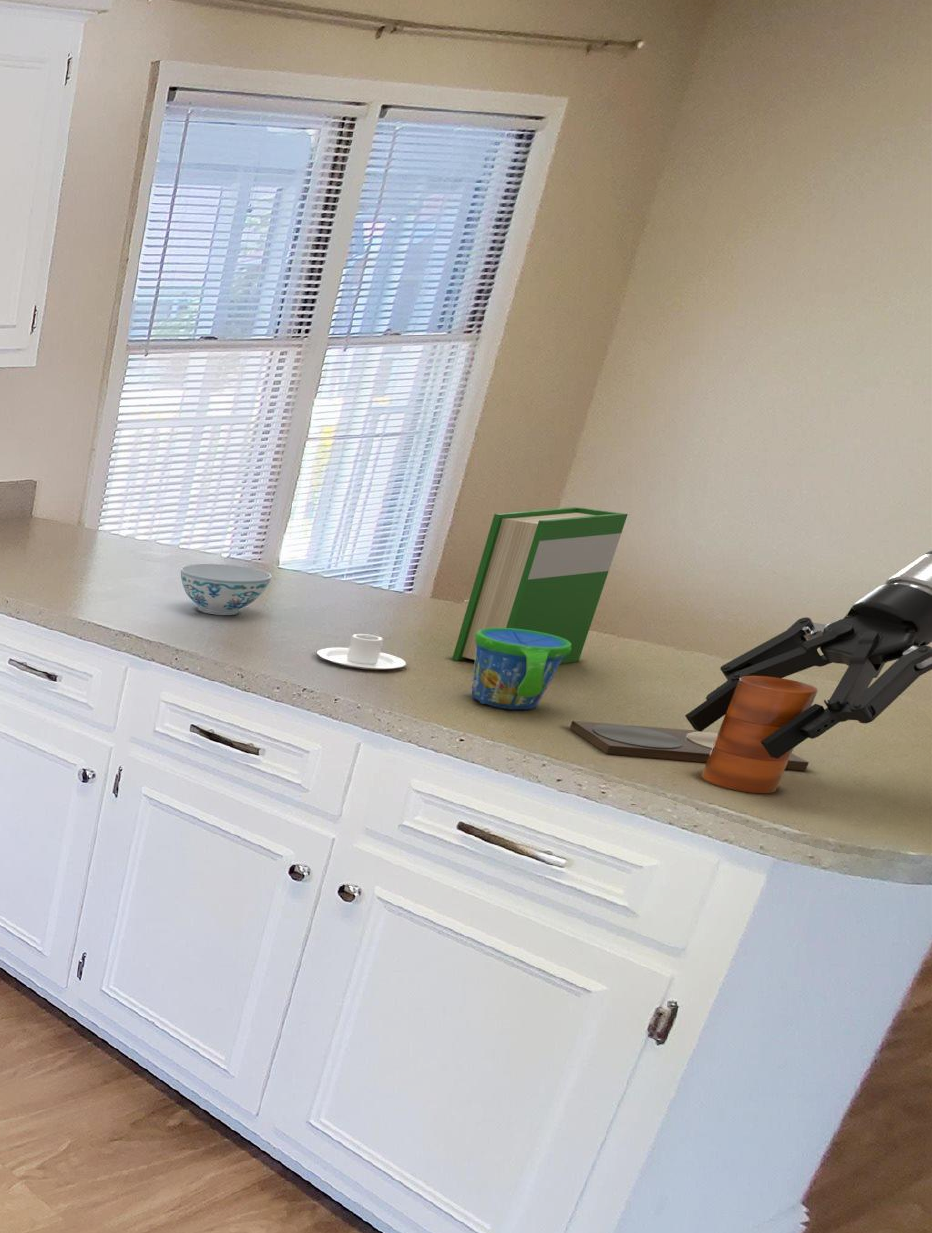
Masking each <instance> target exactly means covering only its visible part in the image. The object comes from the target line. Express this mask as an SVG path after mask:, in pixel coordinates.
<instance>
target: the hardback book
mask: <svg viewBox="0 0 932 1233" xmlns="http://www.w3.org/2000/svg"><path fill="white" fill-rule="evenodd" d="M628 516H629V514H628V513H623V512H616V511H607V510H601V509H593V508H586V507H578V506H571V507H560V508H557V507H556V508H546V509H535V510H534V509H533V510H525V511H512V512H500V513H494V514H493V518H492V521H491V525H490V528H489V531H488V535H487V537H486V538H487V539H486V541H485V544H484V547H483V551H482V555H481V557H480V558H481V559H480V562H479V565H478V569H477V573H476V576H475V580H474V583H473V586H472V589H471V593H470V596H469V600H468V603H467V607H466V610H465V614H464V616H463V620H462V624H461V627H460V631H459V634H458V637H457V641H456V643H455V644H456V645H455V648H454V651H453V654H452V658H451V659H452V660H453V661H458V662H459V661H466V660H467V661H468V660H474V661H475V655H476V647H477V645H476V642H475V634H476V632H478V631H479V630H481V629H486V628H514V629H523V630H531V631H537V632H542V633H547V634H551V635H555V636H558V637H561V638H564V639H566V640H568V641H569V642H571V652H570V653H569V654H568V655H566V656H565V657H564V658H563V659H562V661H561V662H560V664H567V663H573V662H574V663H575V662H579V661H580V658H581V655H582V652H583V649H584V646H585V644H586V640H587V637H588V634H589V631H590V629H591V625H592V623H593V620H594V616H595V614H596V611H597V608H598V604H599V602H600V599H601V595H602V592H603V589H604V587H605V583H606V581H607V578H608V575H609V572H610V569H611V566H612V563H613V560H614V557H615V553H616V550H617V547H618V545H619V542H620V539H621V535H622V533H623V529H624V527H625V524H626V521H627V518H628Z"/></svg>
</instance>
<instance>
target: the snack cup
mask: <svg viewBox="0 0 932 1233" xmlns="http://www.w3.org/2000/svg"><path fill="white" fill-rule="evenodd" d="M475 642H476V645H477V647H476V655H475V660H474V664H473V672H472V677H473V678H472V683H471V697H472V698H473V699H474V700H477V701H478V702H479V703H480V704H482V705H489V706H491V707H494V708H497V709H503V710H517V711H519V710H520V711H523V710H530V709H535V708H536V707H537V706H538V704H539V703H540V701H541V699H542V697H543V695H544V694H545V691H546V690H547V688H548V686H549V684H550V683H551V682H552V680H553V678H554V676H555V674H556V672H557V671H558V668H559V666H560V664H561V663H560V662H561V661H562V659H563V658H564V657H565V656H566V655H568V654H569V653H570V652H571V642H569V641H568V640H566V639H564V638H561V637H558V636H555V635H551V634H547V633H542V632H537V631H531V630H523V629H514V628H486V629H481V630H479V631H478V632H476V634H475Z"/></svg>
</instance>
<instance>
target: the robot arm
mask: <svg viewBox="0 0 932 1233" xmlns="http://www.w3.org/2000/svg"><path fill="white" fill-rule="evenodd" d="M931 643H932V549H931V550H929V551H927V552H926V553H924V554H923V555H921V556H920V557H919V558H917V559H916V560H915V561H914V560H913V562H911V563H909V565H907V566H905V567H904V568H902V569H901V570H900V571H899V572H897V573H895V574H894V575H892V576H891V577H889V578H888V579H886V581H885V583H884V584H881V585H879V586H877V587H876V588H874V589H873V590H872V591H870V592H869V593H867V594H866V595H865V596H863V597H861V598H860V599H859V600H858V601H856V602H855V603H854V604H852V606H851V607H850V609H849V611H848V612H847V614H845V616H844V617H842V618H840V619H837V620H835V621H831V622H830V623H828V624H825V623H816V622H813V621H812V618H810V617H807V616H806V617H805V616H804V617H800V618H799V619H798V620H796V621H795V622H794V623H793V624H792V625H791V626H789V627H788V628H787V629H786V630H785V631H782V632H781V633H778V634H777V635H776V636H774V637H771V638H769V639H768V640H766V641H765V642H763V643H761V644H759V645H757V646H755V647H754V648H751V649H750V650H748V651H746V652H745V653H743V654H740V655H739V656H737V657H735V658H734V659H731V660H730V661H728V662H726V663H724V664H723V665H721V666H720V667H719V670H720V671H721V673H722V674H723V676H724V677H725V679H726V681H725V682H724V683H722V684H721V685H719V686H718V687H716V688H715V689H714V690H712V691H711V692H709V693H708V694H707V695H706V697H705V699H706V700H705V701H703V702H702V703H701V704H699V705H698V706H696V707H695V708H694V709H692V710H691V711H690V712H688V713H687V714H685V715H684V717H685V718H686V719H687V721H688V722H689V724H690V725H691V727H692V728H693V730H697V731H700V732H701V731H705V730H706V729H707V728H709V727H710V726H711V725H712V724H714V723H716V722H717V721H718V720H720V719H721V718H723V716H724V717H725V714H726V712H727V709H728V707H729V704H730V702H731V699H732V696H733V694H734V691H735V689H736V686H737V684H738V681H739V679H740V678H741V677H743V676H767V677H776V678H782V679H785V678H786V677H788V676H791V675H794V674H797V673H800V672H802V671H805V670H808V669H811V668H813V667H818V668H821V667H824V666H828V665H830V664H832V663H834V664H842V665H846V666H848V667H847V668H846V669H845V671H844V674H843V675H842V677H841V678H840V681H839V683H838V684H837V686H836V688H835V689H834V691H833V693H832V694H831V696H830V698H829V699H827V700H826V699H823V702H824V704H825V707H826V708H824V706H823V705H822V704H821V705H820V704H818V703H814V704H812V706H811V707H810V708H808V709H807V710H805V711H804V712H803V713H801V714H800V715H798V716H797V717H795V718H794V719H793V720H791V721H790V722H788V723H787V724H785V725H784V726H782V727H781V728H780V729H778V730H777V731H775V732H774V733H772V734H771V735H769V736H768V737H767V738H765V739H764V740H762V741H761V743H762V745H763V746H764V748H765V749H766V751H767V752H768V754H769V755H770V756H771V757H773V758H776V759H778V758H779V757H781V756H782V755H784V754H785V753H787V752H788V751H789V750H791V749H792V748H795V747H797V746H798V745H800V744H801V743H803V742H804V741H806V740H807V739H812V740H813V739H815V738H818V737H820V736H822V735H823V734H824V733H826V732H827V731H829V730H830V729H832V728H834V727H835V726H836V725H837V724H839V723H844V722H847V721H857V722H858V723H860V724H869V723H872V722H873V721H874V720H876V719H877V718H878V717H879V716H880V715H881V714H882V712H884V711H885V710H886V709H887V708H889V706H890V705H892V703H893V702H895V701H896V699H898V697H900V696H901V695H902V694H903V693H904V692H905V691H906V690H907V689H908V688H909V687H910V686H911V685H912V684H913V683H915V682H916V681H917V680H918V679H919V677H921V676H922V675H924V674H926V673H928V672H930V671H932V647H931V645H930V644H931ZM929 645H930V646H929ZM818 649H820V650H819V651H821V654H820V653H819V651H818ZM892 661H893V663H892V664H891V665H890V666H889V667H888V668H887V669H885V671H884V672H883V673H882V674H881V675H880V673H881V672H882V670H883V667H885V664H887V663H889V662H892ZM894 661H895V662H894ZM874 679H875V681H873V680H874ZM872 682H873V683H872Z"/></svg>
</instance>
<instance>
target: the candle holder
mask: <svg viewBox="0 0 932 1233" xmlns="http://www.w3.org/2000/svg"><path fill="white" fill-rule="evenodd" d="M383 643H384V638H383V637H381V636H378V635H374V634H368V633H356V634H353V635H351V638H350V642H349V647H326V648H321V649H319V650H317V652H316V654H317V655H318V657H320V658H322V659H324V660H326V661H329V662H331V663H333V664H337V665H340V666H344V667H349V668H355V669H362V670H391V669H393V670H394V669H400V668H403V667H405V666H406V665H407V662H406V660H404V659H403V658H400V657H398V656H395V655H393V654H389V653H387V652H386V653H385V652H381V650H382V647H383Z"/></svg>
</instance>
